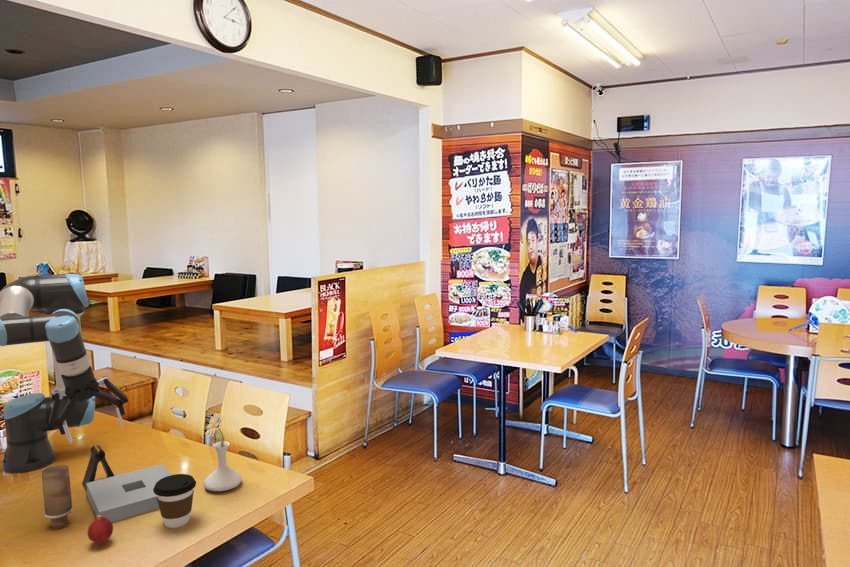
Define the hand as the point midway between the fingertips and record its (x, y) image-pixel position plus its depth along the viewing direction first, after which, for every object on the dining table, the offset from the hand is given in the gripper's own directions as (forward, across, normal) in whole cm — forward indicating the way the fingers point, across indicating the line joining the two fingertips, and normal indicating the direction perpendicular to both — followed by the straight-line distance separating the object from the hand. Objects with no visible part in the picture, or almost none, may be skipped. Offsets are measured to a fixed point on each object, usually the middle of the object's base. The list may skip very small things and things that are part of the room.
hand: (97, 433), depth 172 cm
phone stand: (+24, -4, +10) cm, 26 cm away
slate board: (+22, +4, -6) cm, 23 cm away
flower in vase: (+26, +28, -13) cm, 41 cm away
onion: (+16, -5, -28) cm, 33 cm away
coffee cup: (+20, +13, -27) cm, 36 cm away
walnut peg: (+18, -14, -12) cm, 25 cm away
